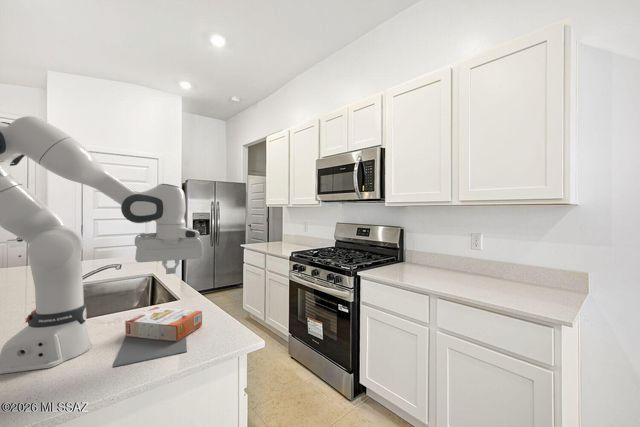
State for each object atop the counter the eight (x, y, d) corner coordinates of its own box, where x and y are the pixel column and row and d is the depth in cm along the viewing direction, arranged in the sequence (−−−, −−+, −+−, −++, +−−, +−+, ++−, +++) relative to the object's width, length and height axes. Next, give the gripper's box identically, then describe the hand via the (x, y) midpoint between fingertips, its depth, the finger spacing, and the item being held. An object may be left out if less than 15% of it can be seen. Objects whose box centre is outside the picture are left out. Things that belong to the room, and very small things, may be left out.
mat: (113, 367, 81) (112, 366, 81) (126, 335, 101) (126, 334, 101) (186, 352, 90) (186, 351, 90) (185, 325, 109) (185, 324, 109)
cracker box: (177, 324, 95) (123, 320, 99) (177, 342, 95) (124, 337, 99) (202, 309, 109) (154, 306, 113) (202, 325, 109) (155, 321, 113)
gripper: (133, 234, 89) (133, 278, 89) (203, 232, 98) (203, 272, 98) (136, 232, 95) (136, 274, 95) (202, 231, 104) (202, 269, 104)
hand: (170, 273), depth 97 cm, fingers closed
